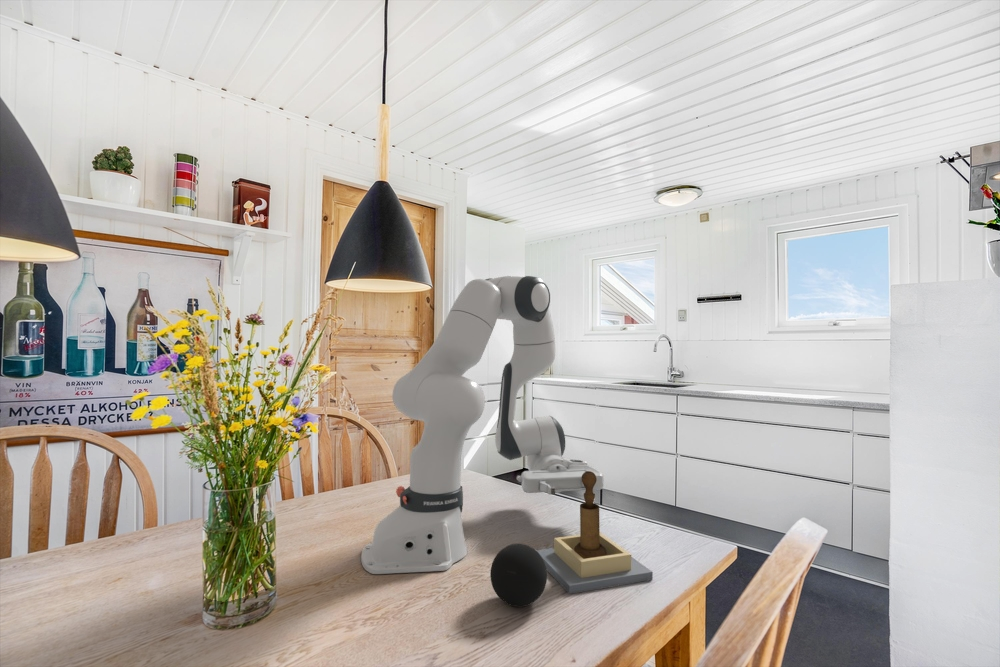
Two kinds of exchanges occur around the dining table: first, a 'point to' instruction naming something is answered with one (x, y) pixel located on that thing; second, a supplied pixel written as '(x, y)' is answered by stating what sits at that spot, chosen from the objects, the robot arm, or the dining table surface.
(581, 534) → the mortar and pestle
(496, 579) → the speaker
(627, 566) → the holder
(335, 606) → the dining table surface
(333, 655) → the dining table surface
